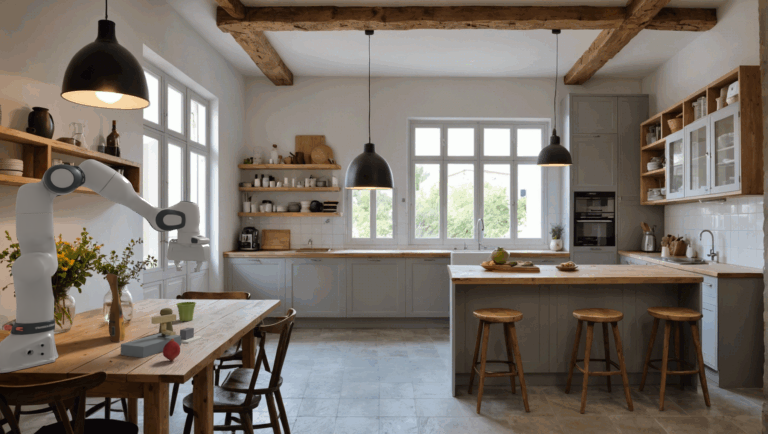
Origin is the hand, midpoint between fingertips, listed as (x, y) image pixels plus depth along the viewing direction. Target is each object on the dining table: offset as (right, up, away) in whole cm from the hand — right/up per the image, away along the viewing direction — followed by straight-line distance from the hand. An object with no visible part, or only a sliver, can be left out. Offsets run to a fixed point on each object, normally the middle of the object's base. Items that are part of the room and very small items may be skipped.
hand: (188, 271), depth 204 cm
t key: (-3, -24, -12) cm, 27 cm away
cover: (0, -30, 0) cm, 30 cm away
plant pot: (-17, -30, +39) cm, 52 cm away
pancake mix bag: (-32, -29, +1) cm, 43 cm away
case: (-7, -29, -16) cm, 34 cm away
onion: (+6, -29, -30) cm, 43 cm away
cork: (-15, -29, +12) cm, 35 cm away
